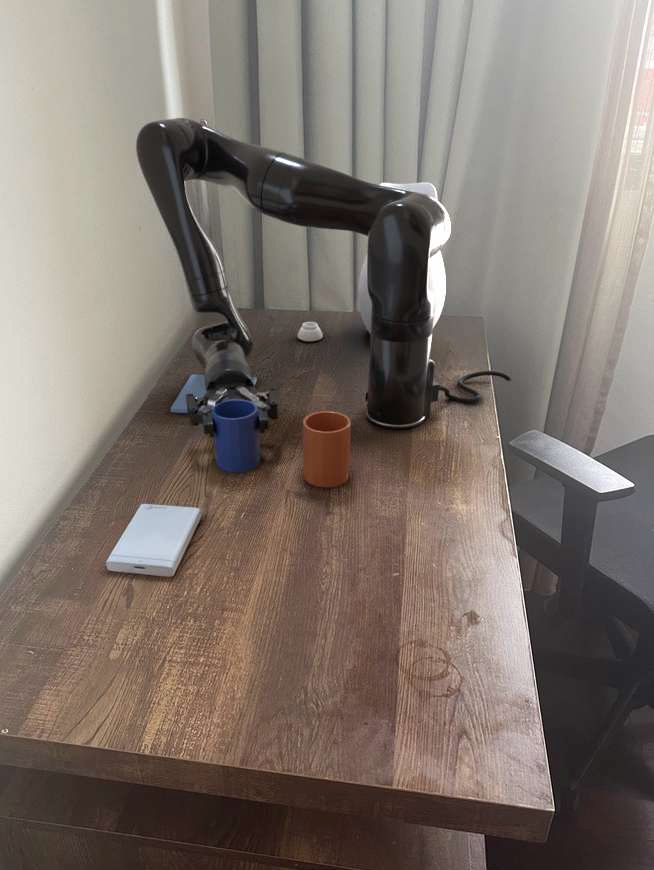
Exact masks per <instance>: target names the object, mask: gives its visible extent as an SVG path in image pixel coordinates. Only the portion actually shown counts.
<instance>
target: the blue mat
mask: <svg viewBox="0 0 654 870" xmlns="http://www.w3.org/2000/svg"><path fill="white" fill-rule="evenodd" d="M252 378H253V382H254V386H255V385H256V383H257V382H258V378H257V376H252ZM205 393H206V387H205V374H191V375H190V376H189V378H188V380H187V381H186V383H185V384H184V386H183V388H182V389H181V391H180V392H179V393H178V395H177V397H176V399H175V400H174V402H173V403H172V405H171V406H170V408H169V409H170V413H179V414H180V413H182V414H188V411H187V403H186V394H194V397H198V398H199V397H204V394H205ZM204 407H205V406H204V405H203V406H201V408H200V409H199V411H202V409H203V408H204Z"/></svg>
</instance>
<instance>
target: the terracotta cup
mask: <svg viewBox="0 0 654 870" xmlns="http://www.w3.org/2000/svg"><path fill="white" fill-rule="evenodd" d="M351 427H352V422H351V418H349V417H348V416H347V415H346V414H343V413H341V412H337V411H330V410H326V411H324V410H322V411H321V410H320V411H317V412H313V413H310V414H308V415H306V416H305V417H304V418H303V420H302V463H303V465H302V469H303V471H302V472H303V479H304V480H305V482H306V483H308V485H312V486H315V487H319V488H335V487H339V486H341V485H343V484H345V483H346V482H348V480H349V478H350V465H351V464H350V462H351V434H352V433H351V431H352V428H351Z"/></svg>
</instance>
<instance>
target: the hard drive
mask: <svg viewBox="0 0 654 870" xmlns="http://www.w3.org/2000/svg"><path fill="white" fill-rule="evenodd" d="M201 519H202V510H201V508H199V507H191V506H181V505H180V506H178V505H165V504H151V503H141V504H140V506H139V507H138V509H137V510H136V512H135V514H134V515H133V517H132V519H131V520H130V522H129V524H128V525H127V526H126V529H125V530H124V531H123V533H122V535H121V537H119V540H118V542H117V543H116V544H115V546H114V548H113V550H112V551H111V553H110V554H109V556H108V558H107V559H106V561H105V565H106V569H107V570H108V571H110V572H117V573H125V574H138V575H148V576H155V577H156V576H157V577H165V578H166V577H167V578H172V577H174V576H175V573H176V571H177V568H178V567H179V565H180V563H181V561H182V560H183V559H182V558H184V555H185V553H186V551H187V548H188V546H189V544H190V542H191V540H192V538H193V535H194V533H195V531H196V529H197V527H198V525H199V523H200V521H201Z"/></svg>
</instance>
